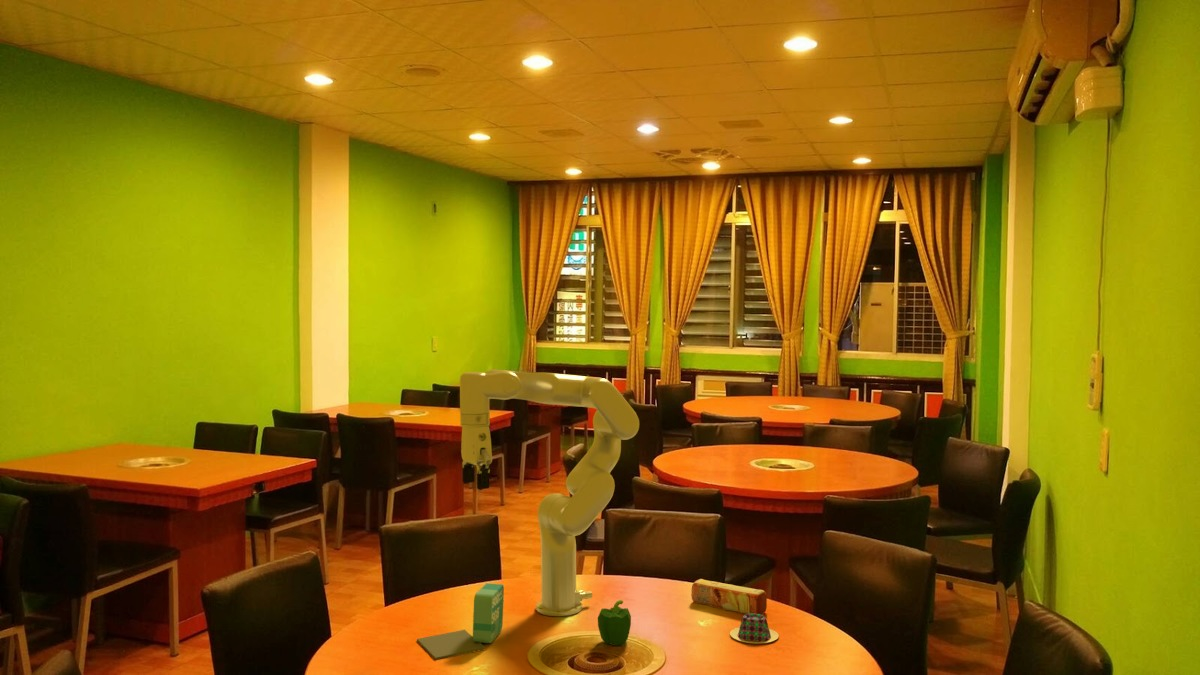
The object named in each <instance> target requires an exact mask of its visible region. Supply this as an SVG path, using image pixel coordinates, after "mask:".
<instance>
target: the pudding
mask: <svg viewBox="0 0 1200 675" xmlns="http://www.w3.org/2000/svg"><path fill="white" fill-rule="evenodd" d="M729 634H730V635H729V636H730V637H731V638H733V639H734V640H735V641H738V642H739V641H740V642H743V643H747V644H767V643H771V642H774V641H777V639H779V637H780V636H779V635H780V634H779V633H778V632H777V631H775V630H774V629H772V628H769V625H768V621H767V617H765V616H764V614H762V615H760V614H756V613H754V614H744V615H742V617H741V622H740V625H739V626H738V627H734V628H732V630H730V632H729Z"/></svg>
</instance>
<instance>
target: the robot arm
mask: <svg viewBox="0 0 1200 675" xmlns="http://www.w3.org/2000/svg"><path fill="white" fill-rule="evenodd" d="M492 399H494V400H503V401H505V400H511V399H516V400H524V401H529V402H533V403H539V404H544V405H551V406H552V405H554V406H556V405H557V406H567V407H568V406H569V407H583V408H591V409H595V410H596V411H595V412H594V414H593V418H592V424H593V425H592V427H593V433H594V434H593V435H594V436H593V442H592V445H591V446H590V447H589V449H588V451H587V452H586V454H584V456H582V458H581V459H580V461H579V462H577V464H576V465H575V466H574V468H573V469H572V470H571V471H570V472H569V474H568V476H567V477H566V480H565V487H566V490H567V492H569V493H570V494H571V495H572V496H571V497H570V496H568V495H566V494H562V493H558V492H557V493H550V494H547V495H546V496H545V497H544V498H542V500H541V501H540V502H539V505H538V509H537V520H538V525H539V526H538V527H539V532H540V533H539V534H540V556H541V557H540V562H541V563H540V564H541V565H540V568H541V571H540V572H541V582H540V583H541V584H540V585H541V600H540V601H538V602H537V603H536V605H535V610H536V612H537V613H538V614H541V615H544V616H549V617H566V616H573V615H575V614H578V613H579V612H581V611H582V609H583V603H582V601H583V600H588V599H592V598H593V592H592V591H591V590H589V591H584V590H581V589H580V590H577V543H576V536H580V535H581V534H583V533H584V532H585V531H587V530H588V528H589V527H591V525H592V523H594V521H595V520H596V519H597V517H599V515H600V514H601V512H602V511H604V509H605V508H606V507H607V505H608V504H609V503H610V501H611V499H612V498H613V496H614V492H615V487H616V485H615V479H614V478H613V475H612V474H611V472H612V470H614V468H615V466H616V465H617V463H618V462H619V460H620V457H621V452H622V451H621V450H622V440H623V441H625V440H630V439H632V438H634V437H635V436H636V435H637V434H638V433H639V432H638V431H639V429H640V418H639V417H638V415H637V412H636V411H635V410H634V408H633V407H632V406H631V405H630V404H629V402H628V401H627V400H626V399H625V397H624V395H622V393H621V392H620V391H619V390H618V388H617V387H616V386H615V385H614V384H613V383H612V382H611V381H609V380H608V379H606V378H602V377H594V376H584V375H577V374H566V373H555V372H554V373H553V372H531V371H530V372H529V371H528V372H527V371H514V370H504V369H503V370H502V369H494V368H493V369H488V370H486V371H485V372H483V371H470V372H468V371H467V372H464V373H461V375H460V377H459V406H460V407H459V408H460V409H459V412H460V413H459V414H460V415H459V416H460V422H459V423H460V427H462V428H461V442H460V443H461V447H460V448H461V449H460V453H461V461H462V463H461V466H462V483H463V484H469V483H475V480H476V488H477V490H484V489H486V490H487V489H489V488H490V473H491V472H490V471H491V470H490V469H491V464H492V462H493V452H492V451H493V450H492V438H491V431H490V423H491V422H490V416H491V415H490V400H492ZM475 467H476V470H477V472H478V473H476V477H475Z"/></svg>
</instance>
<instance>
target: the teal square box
mask: <svg viewBox="0 0 1200 675" xmlns="http://www.w3.org/2000/svg"><path fill="white" fill-rule="evenodd" d="M504 587H505V586H504V584H501V583H500V584H499V583H485V584H484V585H483V586H482V587H481V588H480V589H479V590H478V591H477V592H475V594H474V598H473V616H472V617H473V619H472V622H473V623H472V637H473V641H474V642H479V643H481V644H482V643H483V644H492V643H493V642H494V640H495V639H496V638H497V637H498V635H500V632H502V630H503V624H504V623H503V622H504V621H503V619H504V594H505V592H504V591H505V588H504Z"/></svg>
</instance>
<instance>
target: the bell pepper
mask: <svg viewBox="0 0 1200 675" xmlns="http://www.w3.org/2000/svg"><path fill="white" fill-rule="evenodd" d="M623 603H624V600H622V599H618V600H617V601H616V602H615V603H614V605H613V607H611V608H601V610H600V611H599V614H598V617H597V628H598V630H599V634H600V637H601V639H602V642H604V644H607V645H612V646H616V647H617V646H622V645H625V644H626V642H627V641H628V639H629V634H630V629H631V626H632V625H631V624H632V622H631V621H632V616H631V613H630V611H629V609H628V607H627V608H626V607H625V608H622V607H620V605H623Z"/></svg>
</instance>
